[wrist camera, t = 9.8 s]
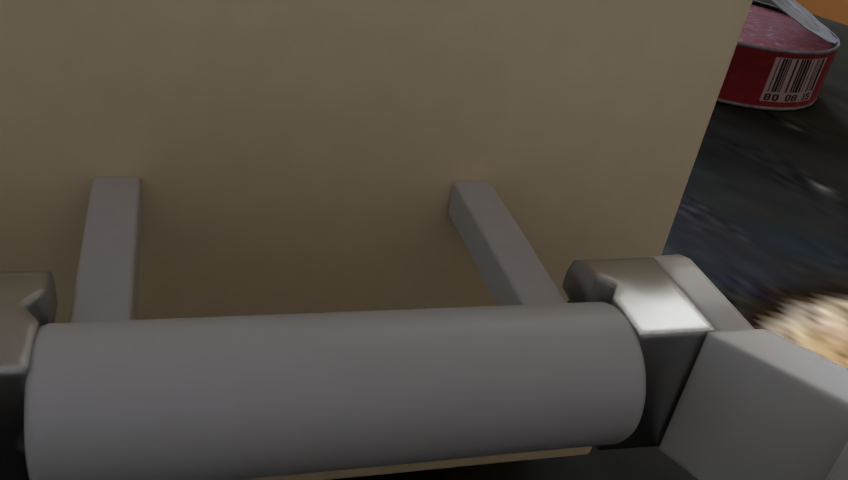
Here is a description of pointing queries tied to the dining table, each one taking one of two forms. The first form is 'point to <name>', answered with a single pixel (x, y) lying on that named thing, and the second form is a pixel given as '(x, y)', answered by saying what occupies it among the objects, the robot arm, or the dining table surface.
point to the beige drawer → (339, 225)
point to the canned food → (779, 58)
